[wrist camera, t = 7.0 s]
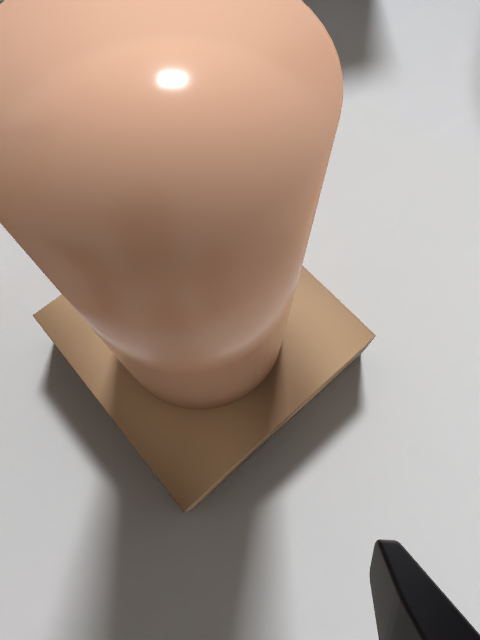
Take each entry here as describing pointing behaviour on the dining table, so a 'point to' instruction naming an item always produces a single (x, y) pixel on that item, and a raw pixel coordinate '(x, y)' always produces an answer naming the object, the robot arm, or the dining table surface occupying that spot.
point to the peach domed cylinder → (169, 174)
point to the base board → (221, 422)
